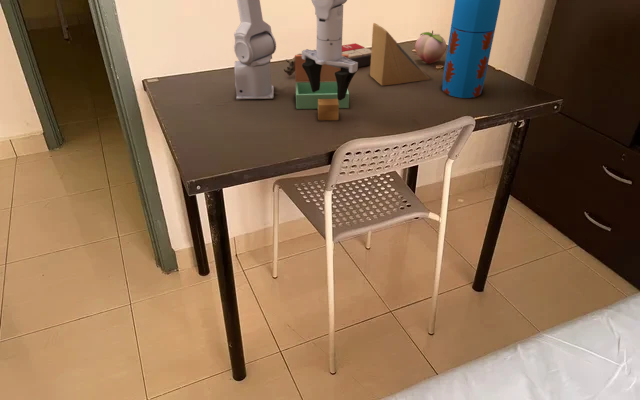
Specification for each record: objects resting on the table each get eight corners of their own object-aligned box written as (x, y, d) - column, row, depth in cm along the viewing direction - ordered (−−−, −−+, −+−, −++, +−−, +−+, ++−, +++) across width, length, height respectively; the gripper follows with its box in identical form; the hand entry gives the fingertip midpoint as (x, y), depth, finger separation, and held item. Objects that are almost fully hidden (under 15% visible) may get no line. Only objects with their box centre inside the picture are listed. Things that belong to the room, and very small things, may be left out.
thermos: (433, 86, 139) (447, -10, 125) (463, 80, 144) (480, -14, 129) (459, 101, 132) (477, 0, 117) (490, 93, 136) (511, -4, 121)
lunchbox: (348, 108, 128) (349, 94, 125) (296, 109, 127) (296, 94, 125) (345, 95, 134) (346, 81, 132) (295, 95, 134) (295, 82, 131)
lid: (348, 55, 124) (347, 45, 126) (295, 56, 124) (294, 45, 126) (346, 81, 132) (345, 70, 134) (295, 81, 131) (295, 71, 133)
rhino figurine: (279, 77, 144) (278, 56, 141) (314, 66, 152) (314, 46, 148) (288, 81, 142) (287, 60, 138) (324, 69, 149) (324, 49, 146)
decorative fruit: (449, 64, 154) (454, 31, 148) (433, 70, 149) (438, 36, 144) (424, 56, 160) (428, 24, 154) (408, 62, 155) (412, 29, 149)
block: (318, 120, 122) (318, 105, 119) (317, 114, 125) (317, 98, 122) (338, 120, 122) (338, 104, 120) (337, 113, 125) (337, 98, 123)
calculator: (378, 51, 152) (338, 58, 144) (377, 65, 154) (337, 73, 147) (355, 41, 159) (316, 48, 152) (354, 55, 162) (316, 62, 154)
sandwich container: (431, 79, 144) (438, 26, 135) (382, 86, 140) (386, 31, 131) (416, 69, 150) (423, 17, 142) (369, 75, 146) (373, 22, 138)
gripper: (292, 35, 113) (294, 92, 121) (345, 48, 106) (343, 108, 114) (312, 27, 118) (312, 83, 126) (364, 40, 111) (361, 98, 118)
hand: (328, 94), depth 120 cm, fingers open, 7 cm apart
